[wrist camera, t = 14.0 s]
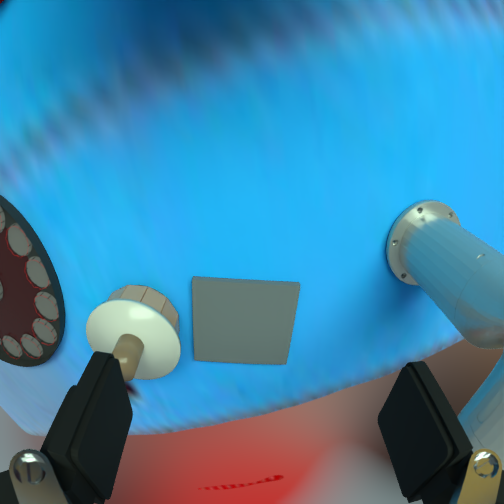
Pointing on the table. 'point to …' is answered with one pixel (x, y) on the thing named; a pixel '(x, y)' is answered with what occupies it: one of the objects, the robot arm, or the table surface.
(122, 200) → the table surface
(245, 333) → the mat
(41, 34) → the table surface
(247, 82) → the table surface
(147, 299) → the bowl
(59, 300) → the palette wheel
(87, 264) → the table surface
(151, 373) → the lid
